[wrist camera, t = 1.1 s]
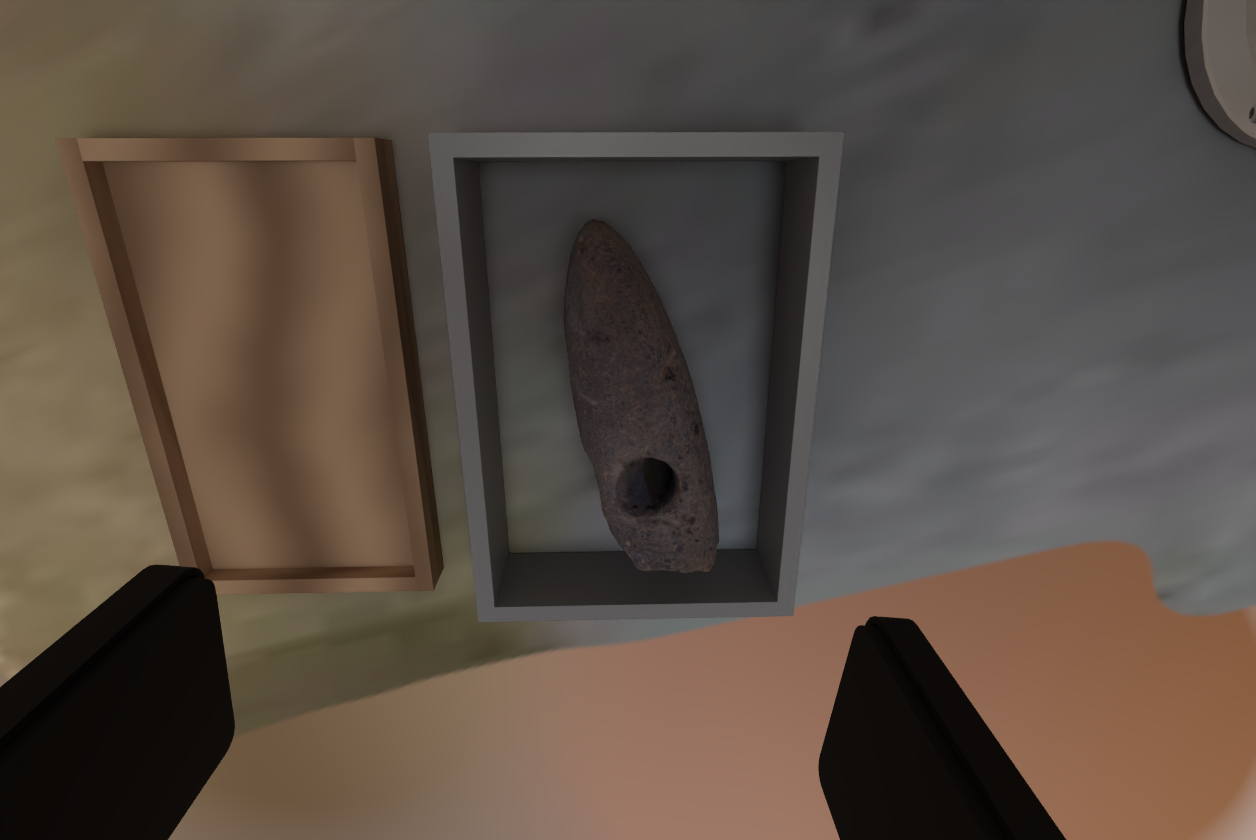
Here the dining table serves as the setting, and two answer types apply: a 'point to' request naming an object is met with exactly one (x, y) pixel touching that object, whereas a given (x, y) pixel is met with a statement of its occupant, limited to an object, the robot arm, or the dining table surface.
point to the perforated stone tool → (637, 409)
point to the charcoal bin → (802, 284)
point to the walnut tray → (267, 354)
